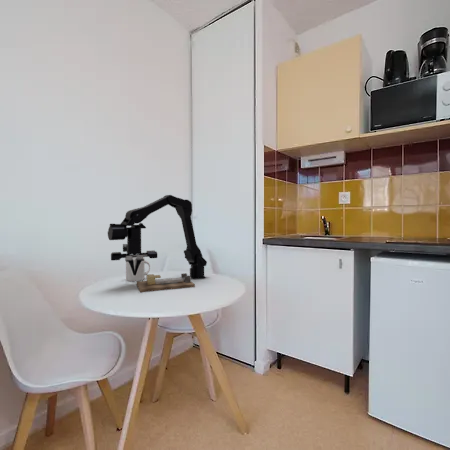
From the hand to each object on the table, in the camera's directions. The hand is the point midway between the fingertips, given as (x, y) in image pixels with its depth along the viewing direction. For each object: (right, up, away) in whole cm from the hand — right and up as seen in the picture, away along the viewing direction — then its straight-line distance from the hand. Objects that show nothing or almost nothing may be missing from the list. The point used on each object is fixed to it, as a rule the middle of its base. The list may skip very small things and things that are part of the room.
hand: (134, 275), depth 120 cm
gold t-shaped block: (+8, -4, +2) cm, 9 cm away
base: (+12, -5, +4) cm, 14 cm away
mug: (-3, -5, +17) cm, 18 cm away
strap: (+15, -4, +5) cm, 16 cm away
